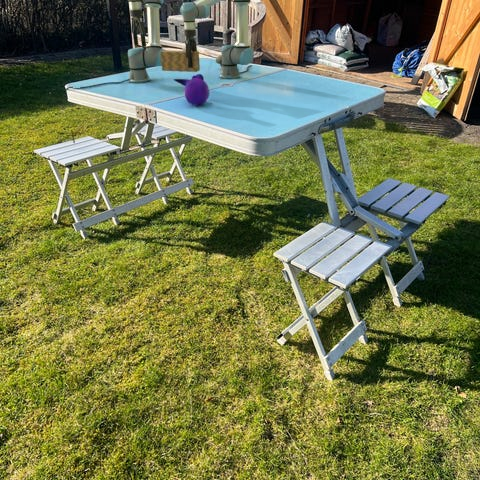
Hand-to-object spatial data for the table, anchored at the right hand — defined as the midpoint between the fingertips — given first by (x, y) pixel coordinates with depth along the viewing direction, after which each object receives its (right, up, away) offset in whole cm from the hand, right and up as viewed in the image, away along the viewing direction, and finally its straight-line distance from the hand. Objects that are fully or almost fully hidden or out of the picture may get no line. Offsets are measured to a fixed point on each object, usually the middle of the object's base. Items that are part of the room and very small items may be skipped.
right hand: (192, 66), depth 303 cm
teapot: (+21, +27, +75) cm, 82 cm away
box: (-8, -1, +4) cm, 9 cm away
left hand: (-33, +10, -10) cm, 36 cm away
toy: (+4, -33, -27) cm, 42 cm away
